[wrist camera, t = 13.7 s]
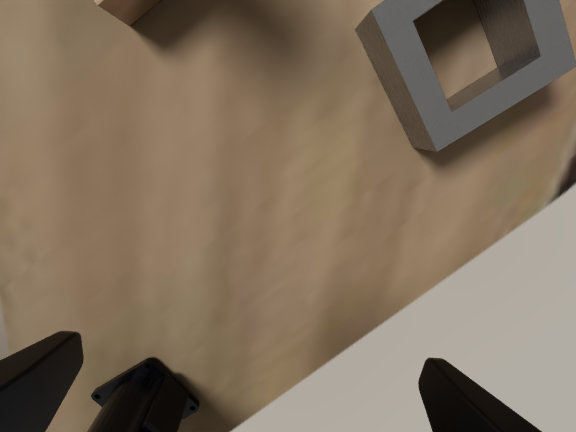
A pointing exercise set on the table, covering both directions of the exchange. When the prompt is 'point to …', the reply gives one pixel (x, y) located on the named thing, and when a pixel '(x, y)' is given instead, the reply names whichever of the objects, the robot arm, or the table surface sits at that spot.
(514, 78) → the socket block
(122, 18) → the block
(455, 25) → the table surface
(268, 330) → the table surface
